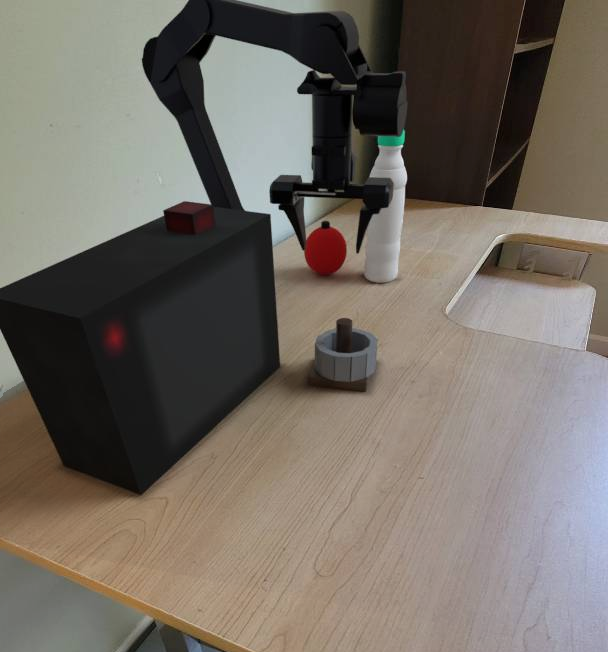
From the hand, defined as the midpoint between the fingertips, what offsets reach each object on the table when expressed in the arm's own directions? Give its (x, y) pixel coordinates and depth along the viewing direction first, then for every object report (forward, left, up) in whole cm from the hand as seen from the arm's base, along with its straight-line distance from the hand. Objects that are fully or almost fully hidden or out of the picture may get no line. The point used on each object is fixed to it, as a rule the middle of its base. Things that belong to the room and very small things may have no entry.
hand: (330, 251), depth 86 cm
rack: (+6, -18, -12) cm, 22 cm away
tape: (+6, -18, -10) cm, 22 cm away
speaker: (-16, -33, -12) cm, 39 cm away
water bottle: (+6, +23, -12) cm, 27 cm away
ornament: (-6, +23, -12) cm, 27 cm away
